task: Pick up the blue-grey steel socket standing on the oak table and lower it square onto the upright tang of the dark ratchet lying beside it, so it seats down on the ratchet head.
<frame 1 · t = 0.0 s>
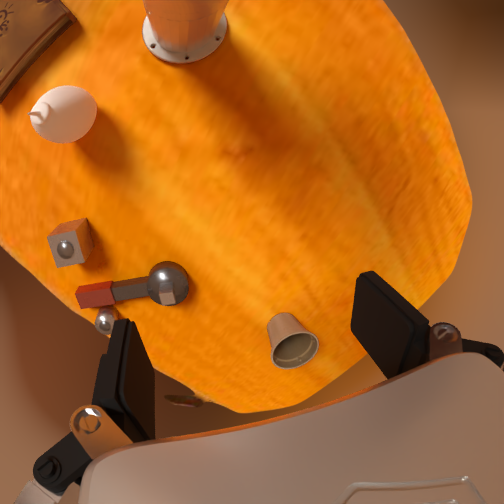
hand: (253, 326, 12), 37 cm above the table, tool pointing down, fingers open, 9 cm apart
white air blower bulb: (82, 115, 36), on the table
diary: (11, 27, 25), on the table
socket: (77, 235, 43), on the table
ratchet: (168, 279, 50), on the table
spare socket: (108, 313, 50), on the table
flower pot: (281, 323, 60), on the table
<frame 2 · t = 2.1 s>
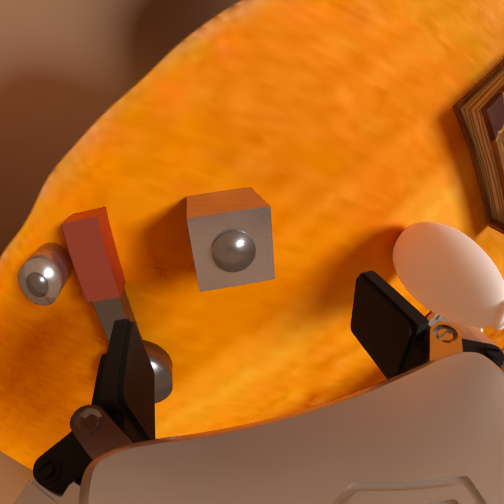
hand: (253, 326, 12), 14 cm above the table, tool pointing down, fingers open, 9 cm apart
white air blower bulb: (402, 241, 30), on the table
socket: (222, 222, 25), on the table
ratchet: (140, 363, 29), on the table
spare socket: (54, 263, 23), on the table
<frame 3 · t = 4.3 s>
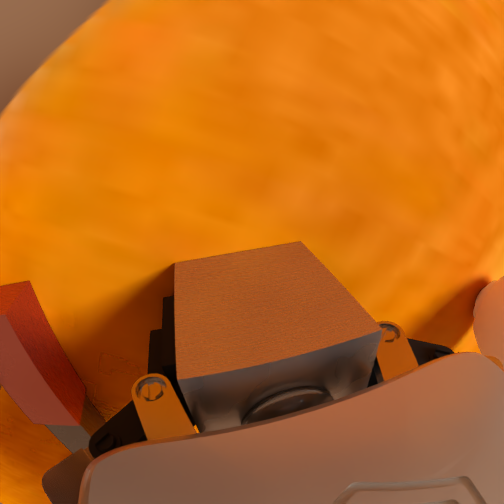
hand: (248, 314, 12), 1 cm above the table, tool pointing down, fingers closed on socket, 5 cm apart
white air blower bulb: (480, 295, 19), on the table
socket: (245, 305, 13), on the table, touching gripper
ratchet: (127, 464, 17), on the table
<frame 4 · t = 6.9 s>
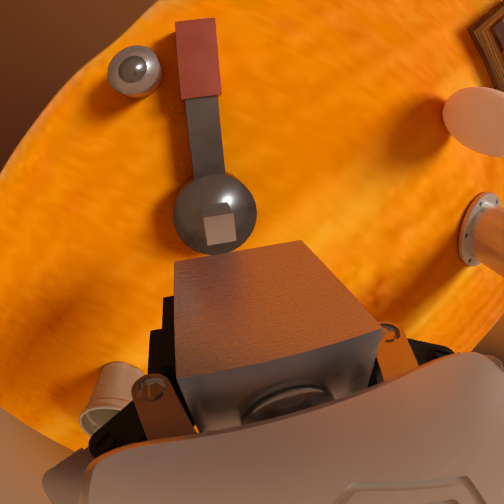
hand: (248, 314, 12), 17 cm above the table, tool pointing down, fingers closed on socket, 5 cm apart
white air blower bulb: (446, 115, 28), on the table
socket: (245, 304, 13), point 16 cm above the table, touching gripper
ratchet: (212, 206, 27), on the table
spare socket: (140, 77, 21), on the table
flower pot: (124, 376, 34), on the table
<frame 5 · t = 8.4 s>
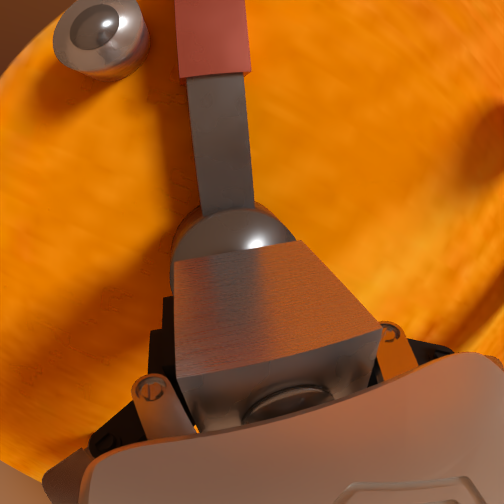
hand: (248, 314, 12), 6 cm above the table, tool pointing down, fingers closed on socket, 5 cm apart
socket: (245, 304, 13), point 5 cm above the table, touching gripper
ratchet: (229, 253, 18), on the table
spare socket: (114, 48, 12), on the table
when the fingers open (4 cm above the table, at t = 9.5 s): socket stays where it is, resting on ratchet.
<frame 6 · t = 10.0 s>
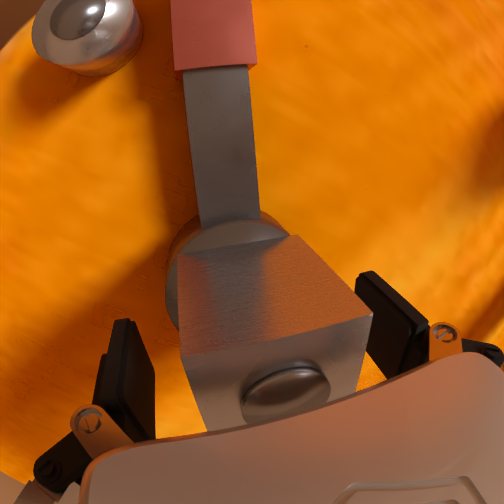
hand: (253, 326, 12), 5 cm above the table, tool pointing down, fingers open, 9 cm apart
socket: (244, 295, 14), point 3 cm above the table, touching ratchet
ratchet: (231, 267, 16), on the table
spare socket: (102, 39, 10), on the table
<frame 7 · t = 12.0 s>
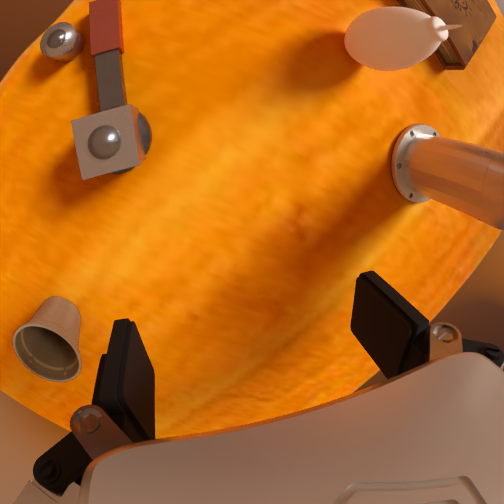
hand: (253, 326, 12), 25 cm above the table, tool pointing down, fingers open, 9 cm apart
white air blower bulb: (354, 47, 30), on the table
diary: (437, 1, 29), on the table
socket: (117, 139, 26), point 3 cm above the table, touching ratchet
ratchet: (120, 138, 28), on the table
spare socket: (68, 47, 22), on the table
flower pot: (62, 313, 35), on the table
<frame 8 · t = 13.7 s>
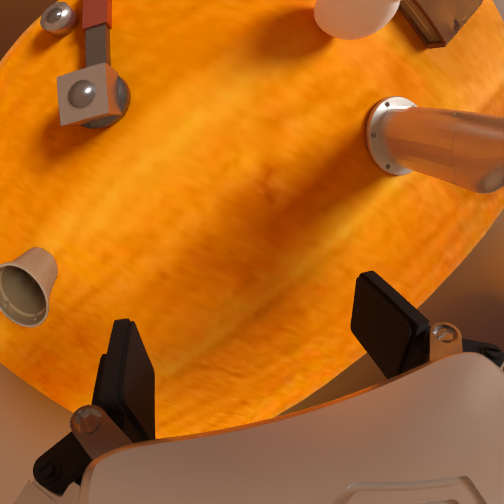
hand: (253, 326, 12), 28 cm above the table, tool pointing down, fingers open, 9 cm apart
white air blower bulb: (327, 22, 31), on the table
socket: (98, 98, 27), point 3 cm above the table, touching ratchet
ratchet: (103, 100, 29), on the table
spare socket: (65, 24, 23), on the table
flower pot: (41, 265, 36), on the table
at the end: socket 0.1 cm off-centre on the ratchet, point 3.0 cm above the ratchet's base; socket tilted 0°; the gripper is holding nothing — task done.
